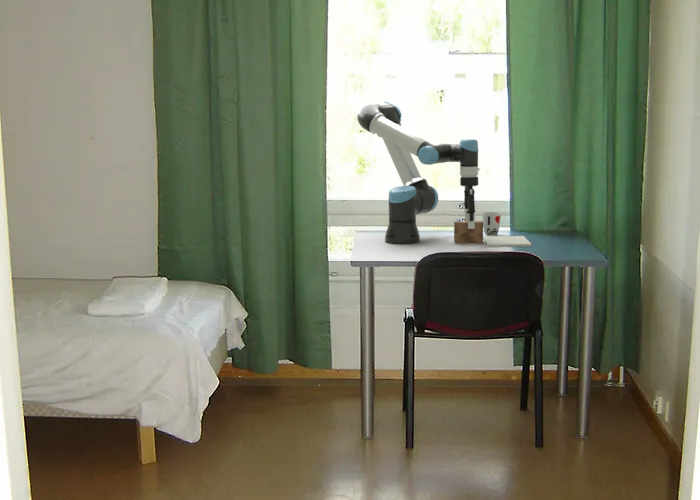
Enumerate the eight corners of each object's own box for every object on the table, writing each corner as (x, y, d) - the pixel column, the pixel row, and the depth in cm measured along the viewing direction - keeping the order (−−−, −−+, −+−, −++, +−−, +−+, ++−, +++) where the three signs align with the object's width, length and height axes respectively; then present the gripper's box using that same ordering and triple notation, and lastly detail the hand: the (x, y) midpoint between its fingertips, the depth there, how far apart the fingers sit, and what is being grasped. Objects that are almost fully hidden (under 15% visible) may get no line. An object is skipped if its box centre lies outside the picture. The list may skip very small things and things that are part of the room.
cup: (484, 237, 378) (485, 214, 376) (479, 234, 386) (480, 212, 384) (502, 236, 379) (503, 214, 377) (497, 233, 387) (497, 211, 385)
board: (454, 243, 364) (454, 222, 362) (454, 242, 367) (454, 221, 365) (482, 243, 364) (483, 222, 362) (482, 242, 367) (482, 221, 365)
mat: (487, 246, 355) (487, 244, 355) (482, 238, 375) (482, 236, 375) (531, 246, 355) (531, 243, 354) (523, 238, 374) (523, 235, 374)
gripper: (481, 178, 348) (481, 230, 351) (474, 173, 372) (475, 222, 376) (463, 179, 348) (463, 230, 352) (457, 174, 372) (458, 222, 376)
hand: (469, 226), depth 364 cm, fingers open, 13 cm apart
